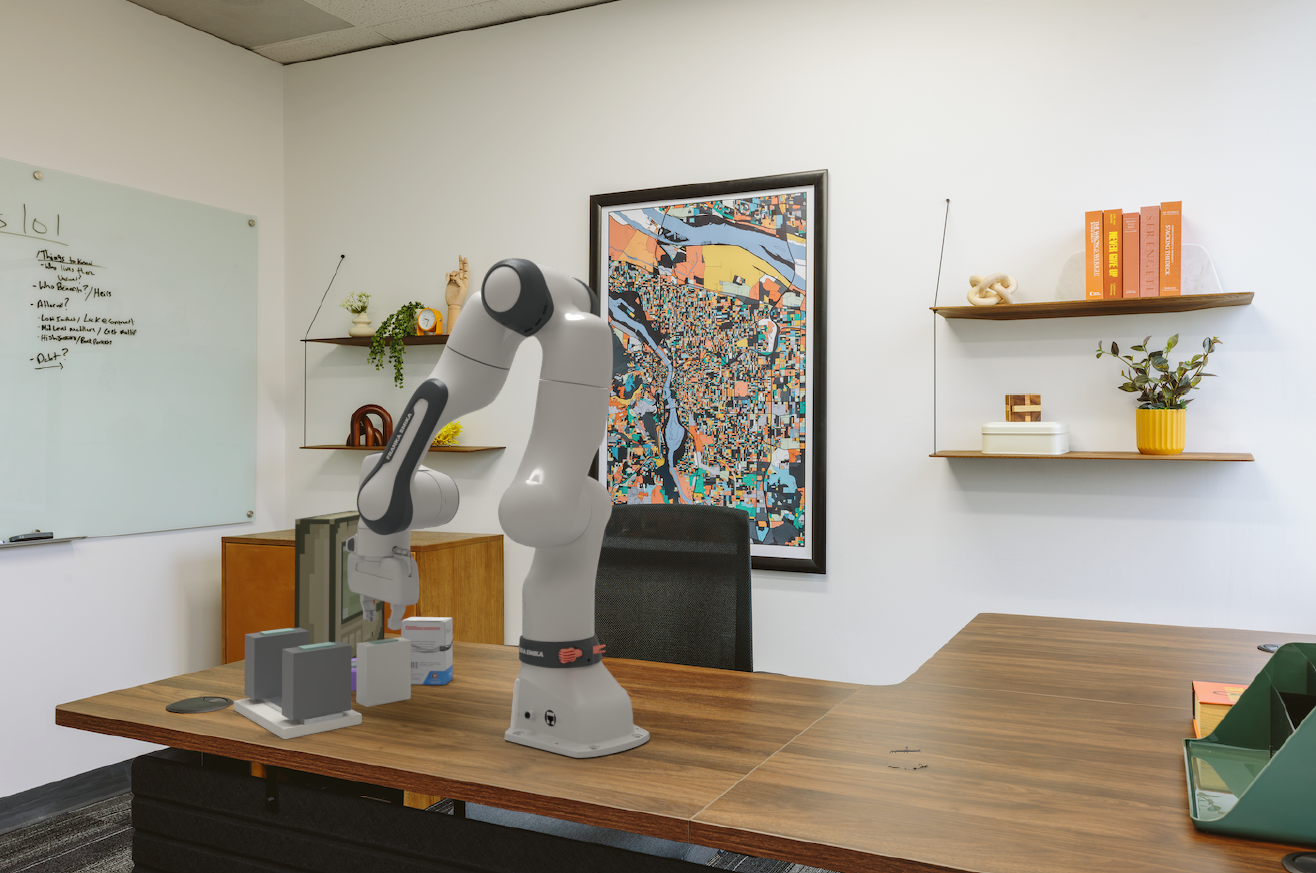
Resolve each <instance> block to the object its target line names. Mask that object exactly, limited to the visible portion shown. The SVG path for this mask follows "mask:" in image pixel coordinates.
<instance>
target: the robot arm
mask: <svg viewBox="0 0 1316 873" xmlns="http://www.w3.org/2000/svg"><path fill="white" fill-rule="evenodd" d="M599 315H600V303H599V300H598V297H597V295H596V294H595V292H594V291H593V289H592V288H591V287H590V286H589V285H587V284H586V283H585V282H584V281H582V280H581V279H579V278H577V277H573V276H570V275H569V274H566V273H564V272H563V271H560V270H559V269H557V268H555V267H553V266H550V265H546V264H542V263H538V262H533V261H532V260H529V259H526V258H516V257H514V258H513V257H512V258H506V259H501V260H499V261H498V262H496V263H494V264H493V265H492V266H491V267H490V268H489V269H488V271H487V272H486V273H485V275H484V277H483V280H482V284H481V289H480V290H478V291H476V292H474V293H472V295H471V296H469V298H468V299H467V301H466V303H465V305H464V306H463V307H462V309H461V311H460V313H459V314H458V317H457V318H456V320H455V323H454V325H453V326H452V329H451V331H450V334H449V336H448V339H447V341H446V344H445V346H444V349H443V351H442V353H441V355H440V357H439V360H438V361H437V364H436V365H434V368H433V370H432V371H431V373H430V374H429V376H427V377H426V379H425V380H424V381H423V382H422V383H421V384H420V385H419V386H418V387H417V388H416V390H415V391H414V392H413V394H412V396H411V397H410V399H409V401H408V403H407V405H406V407H405V408H404V410H403V412H402V414H401V416H400V418H399V420H398V422H397V424H396V426H395V428H394V430H393V432H392V434H391V436H390V438H389V440H388V442H387V443H386V446H385V448H384V450H380V451H374V452H372V453H369V454H368V455H366V456H365V457H364V459H363V461H362V464H361V468H360V473H359V479H358V480H359V481H358V491H357V497H356V508H357V511H358V512H359V515H360V519H359V522H358V528H357V533H356V534H355V535H354V536H352V537H351V538H349V539H347V541H346V550H347V551H348V552H350V553H349V555H348V561H347V574H348V585H349V588H350V591H351V592H354V593H358V594H360V602H361V605H362V609H363V620H365V621H375V620H376V610H374V603H373V600H374V599H378V600H381V601H385V603H388V604H390V610H391V611H390V612H391V613H390V616H389V618H387V628H388V629H389V630H391V631H397V630H398V631H399V630H401V621H403V617H404V614H405V612H406V610H407V608H406V607H407V606H412V605H413V606H415V605H416V604H417V603H418V601H419V599H420V580H419V579H420V577H419V568H418V567H419V566H418V562H417V561H416V560H415V559H414V556H413V555H412V553H411V534H412V532H411V531H415V530H423V529H429V528H438V527H440V526H443V525H446V524H449V523H450V522H451V521H452V520H453V519H454V518H455V516H456V514H457V513H458V510H459V506H460V493H459V492H460V491H459V488H458V485H457V484H456V482H455V480H454V479H453V478H452V477H451V476H450V475H449V474H447V473H445V472H440V471H437V470H435V469H432V468H429V467H427V466H426V465H424V464H422V463H423V462H424V459H425V458H426V455H427V453H428V451H429V449H430V448H431V446H432V443H433V442H434V440H435V437H437V435H438V434H439V432H440V431H442V429H443V428H445V427H446V426H447V425H449V424H451V422H453V421H456V420H457V419H460V418H461V417H463V416H466V415H469V414H471V413H474V412H477V411H480V410H482V409H484V408H486V407H488V406H489V405H490V404H492V403H493V402H494V401H495V400H496V399H497V397H498V396H499V394H500V393H501V391H502V389H503V388H504V386H505V384H506V382H507V378H508V377H509V376H508V375H509V374H510V371H511V368H512V365H513V362H514V359H515V357H516V353H517V351H518V349H519V347H520V345H521V344H522V342H524V341H525V340H527V339H528V338H531V337H534V338H535V339H537V341H538V342H539V344H540V346H541V352H542V360H541V366H540V367H541V368H540V372H539V373H540V374H539V380H538V388H537V392H536V393H537V394H536V402H535V409H534V414H533V421H532V426H531V427H532V428H531V432H530V435H529V437H528V442H527V444H526V448H525V451H524V453H523V455H522V458H521V461H520V463H519V466H518V469H517V471H516V474H515V476H514V478H513V480H512V482H511V483H510V484H509V486H508V487H507V488H506V489H505V491H504V492H503V493H502V496H501V497H500V500H499V504H498V508H497V509H498V510H497V511H498V512H497V514H498V515H497V516H498V521H499V524H500V527H501V529H502V531H503V532H504V533H505V535H506V536H507V537H508V538H509V539H510V540H511V541H513V542H515V543H517V544H519V545H523V546H526V547H530V548H535V549H534V554H533V559H532V562H531V564H530V565H531V566H530V568H529V571H528V574H527V575H526V577H525V578H524V580H523V583H522V588H521V589H522V591H521V598H522V602H521V603H522V604H521V606H522V607H521V609H522V610H521V615H522V616H521V620H522V622H521V623H522V624H521V627H522V629H521V635H520V636H519V644H518V649H517V650H518V660H519V661H520V663H521V664H520V669H519V672H518V674H517V676H516V678H515V680H514V683H513V693H512V703H511V704H512V705H511V712H510V713H511V716H510V725H509V728H507V729H506V730H505V732H504V740H505V741H506V742H507V741H509V742H512V743H515V744H520V745H523V746H526V747H527V746H528V747H531V748H535V749H538V750H539V749H540V750H543V751H548V752H552V753H555V754H559V755H564V756H568V757H572V758H577V759H578V758H579V759H580V758H581V759H582V758H592V757H593V758H594V757H599V756H600V757H601V756H606V755H611V754H614V753H615V754H616V753H619V752H623V751H626V750H629V749H630V750H631V749H632V748H633V749H634V748H637V747H638V746H640V745H642V744H645V743H647V742H648V741H650V739H651V738H650V737H651V736H650V732H649V731H647V730H646V729H645V728H642V727H641V726H639V725H636V724H634V713H633V706H632V705H633V704H632V699H631V697H630V695H629V694H628V691H627V690H626V688H623V687H622V686H621V685H620V683H619V682H618V681H617V679H616V678H615V677H614V676H613V675H612V673H611V672H610V671H609V669H608V668H607V667H606V666H605V665H604V663H603V662H602V660H603V655H602V653H606V650H602V649H604V648H605V647H606V644H600V642H599V639H598V636H597V634H596V633H595V603H596V602H595V601H596V600H595V598H596V597H595V596H596V595H595V594H596V593H595V592H596V591H595V590H596V579H597V573H598V572H597V571H598V566H599V560H600V556H601V552H602V551H601V550H602V546H603V540H604V535H605V534H604V533H605V531H606V530H605V529H606V527H607V524H608V522H609V520H610V519H611V516H612V513H613V500H612V498H611V495H610V492H609V491H608V489H607V487H605V485H604V484H602V482H601V481H598V480H597V479H595V478H593V477H591V476H590V475H588V474H589V472H590V469H591V466H592V463H593V460H594V458H595V456H596V454H597V451H598V450H599V448H600V446H601V445H602V443H603V442H604V439H605V434H606V428H607V427H606V426H607V419H608V413H609V412H608V411H609V405H610V396H611V390H612V380H613V366H614V351H613V350H614V349H613V348H614V345H613V344H614V343H613V333H612V329H611V327H610V325H609V324H608V323H607V322H606V321H605V320H604V319H602V318H601V317H600V316H599Z"/></svg>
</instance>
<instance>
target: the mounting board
mask: <svg viewBox="0 0 1316 873" xmlns="http://www.w3.org/2000/svg"><path fill="white" fill-rule="evenodd" d="M233 710H234V712H237V713H238V714H240V715H242V716H244V717H245V718H247V719H248V720H250V721H252V722H254V724H255V723H256V724H258V725H259V726H260V727H262V728H264V729H265V730H267V731H269V732H270V733H272V734H274V735H276V736H277V737H279V738H281V739H283V740H288V739H289V740H290V739H293V738H297V737H302V736H307V735H313V734H317V733H318V734H319V733H323V732H327V731H332V730H333V731H334V730H337V729H342V728H346V727H352V726H357V725H362V722H363V721H362V719H363V716H362V715H363V714H362V713H360V712H359V711H356V710H354V709H352V708H351V710H349V711H343V718H339V719H334V720H329V721H324V722H318V723H313V724H308V725H303V724H301V723H299V722H297V721H292V720H290V719H288V718H286V717H285V716H283V715H282V713H281V712H279V711H277V710H275V709H273V708H271V707H269V706H268V705H266V704H264V703H262V702H260V701H258V700H253V699H251V698H249V697H247V698H243V699H235V700H233Z"/></svg>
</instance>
